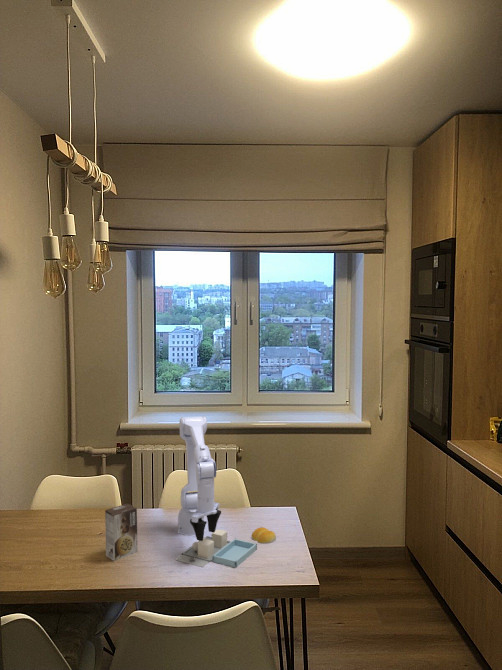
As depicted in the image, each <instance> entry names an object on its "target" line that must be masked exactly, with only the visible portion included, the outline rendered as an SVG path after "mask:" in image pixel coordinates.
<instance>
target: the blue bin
mask: <svg viewBox="0 0 502 670" xmlns="http://www.w3.org/2000/svg"><path fill="white" fill-rule="evenodd" d="M257 550H258V544H257V543H255V542H250V541H246V540H241V539H237V538H234V539H232V540H231V542H230V543H228V544H227V545H226V546H224V547H223V548H222V549H221V550H219V551H218V552H217V553H215V554H214V555H213V556H212V563H217V564H221V565H223V566H226V567H230V568H231V567H232V568H235V569H237V567H238V566H240V565H241V564H242V563H243V562H244V561H246V560H247V559H249V557H251V556H252V555H253V554H254V553H255V552H256V551H257Z"/></svg>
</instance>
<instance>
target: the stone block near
mask: <svg viewBox="0 0 502 670" xmlns="http://www.w3.org/2000/svg"><path fill="white" fill-rule="evenodd" d="M213 554H214V541H212V540H207V539H203V541H200V542H199V543H198V556H199V557H203V558H207V559H208V558H209V557H211V556H212V555H213Z"/></svg>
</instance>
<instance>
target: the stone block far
mask: <svg viewBox="0 0 502 670" xmlns="http://www.w3.org/2000/svg"><path fill="white" fill-rule="evenodd" d="M211 537H212V541H214V546H215V547H219V548H222V547H224V546H225V545H226V544H227V541H228V531H226V530H223V529H216V530H215V532H214V533H213V532H211Z"/></svg>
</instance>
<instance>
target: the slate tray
mask: <svg viewBox="0 0 502 670" xmlns="http://www.w3.org/2000/svg"><path fill="white" fill-rule="evenodd" d="M204 538H206V539H207V540H212V536H209V535H206V536H204ZM231 541H232V540H231ZM231 541H230V540H227V544H228V543H230V542H231ZM227 544H226V545H227ZM226 545H225V546H226ZM222 548H223V547H222ZM222 548H219V547H215V546H214V554H215V553H217V552H218V551H219V550H221V549H222ZM214 554H213V555H214ZM213 555H212V556H213ZM212 556H211V557H209V558H208V559H207V558H203V557H199V556H198V551H197V552H196V551H194V550H193V549H192V546H190V547H188V548H187V549H185V550H184V551H183V552H182V553H181V555H179V556H178V557H177V558H174V559H175V561H177V562H182V563H184V564H189V565H193V566H196V567H198V568H199V567H200V568H204V567H205V566H206V565H208V564H209V563H212V562H213V560H212Z"/></svg>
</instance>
